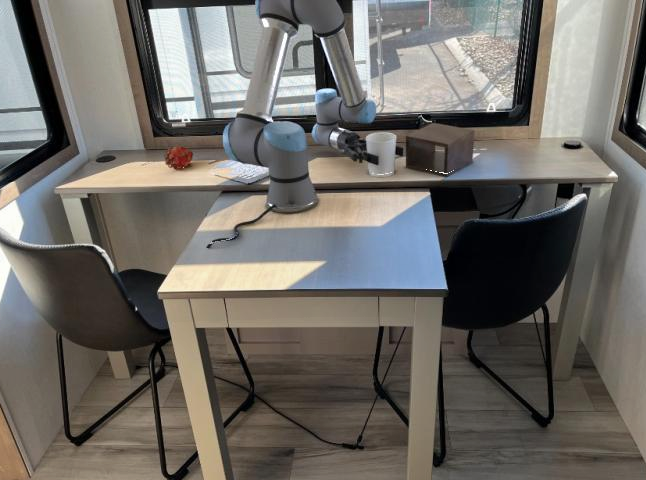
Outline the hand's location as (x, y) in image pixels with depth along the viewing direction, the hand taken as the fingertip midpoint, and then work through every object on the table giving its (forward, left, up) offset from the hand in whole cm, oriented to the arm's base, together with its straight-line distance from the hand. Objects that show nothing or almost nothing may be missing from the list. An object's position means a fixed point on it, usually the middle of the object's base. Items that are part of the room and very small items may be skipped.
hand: (390, 156), depth 189 cm
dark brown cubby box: (+17, -8, -7) cm, 20 cm away
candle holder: (+1, +4, -7) cm, 8 cm away
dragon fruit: (-33, +68, -7) cm, 76 cm away
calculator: (-25, +44, -7) cm, 51 cm away
